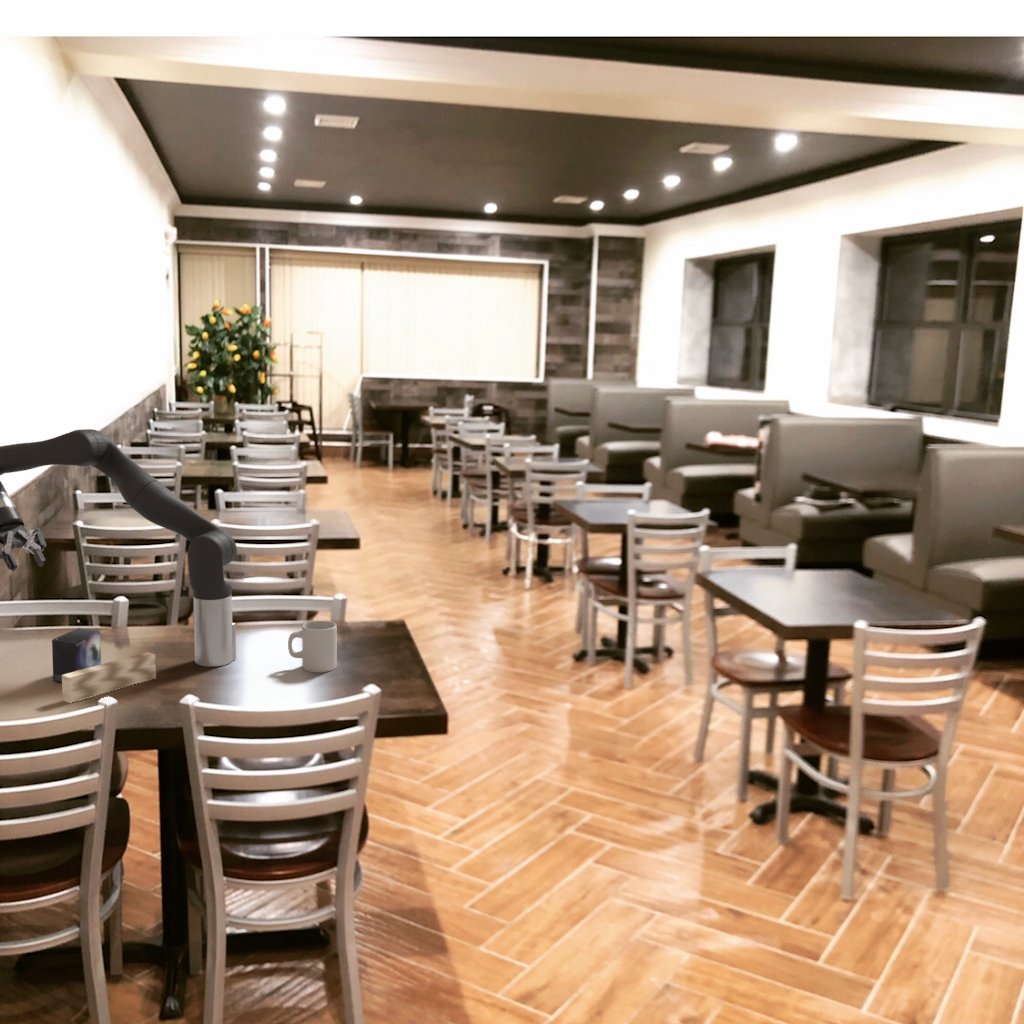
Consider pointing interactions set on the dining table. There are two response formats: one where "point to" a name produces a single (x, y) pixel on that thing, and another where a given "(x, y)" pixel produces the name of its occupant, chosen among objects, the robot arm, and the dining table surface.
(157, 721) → the dining table surface
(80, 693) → the maple board
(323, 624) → the mug
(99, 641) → the small box
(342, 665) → the dining table surface
